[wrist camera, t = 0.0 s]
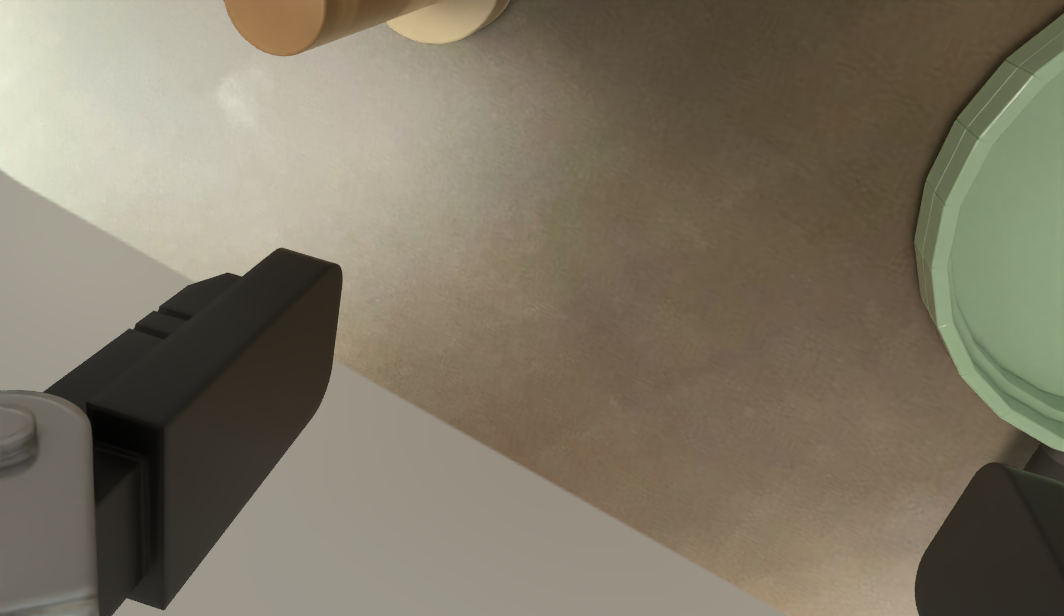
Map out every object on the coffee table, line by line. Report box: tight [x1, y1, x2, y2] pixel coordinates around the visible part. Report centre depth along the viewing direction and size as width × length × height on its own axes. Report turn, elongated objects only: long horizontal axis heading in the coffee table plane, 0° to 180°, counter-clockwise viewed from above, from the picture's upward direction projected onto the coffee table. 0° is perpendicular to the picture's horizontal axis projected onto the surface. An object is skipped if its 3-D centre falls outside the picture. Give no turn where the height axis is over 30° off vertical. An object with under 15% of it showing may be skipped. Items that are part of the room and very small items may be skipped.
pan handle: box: [1023, 443, 1064, 483], centre depth 36 cm, size 12×2×2 cm, turn 167°
